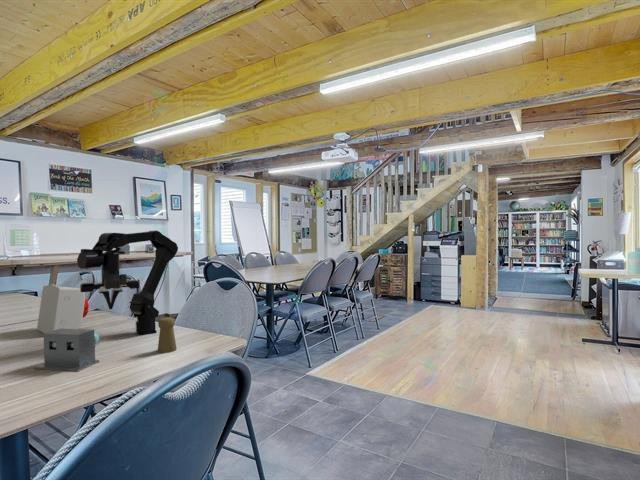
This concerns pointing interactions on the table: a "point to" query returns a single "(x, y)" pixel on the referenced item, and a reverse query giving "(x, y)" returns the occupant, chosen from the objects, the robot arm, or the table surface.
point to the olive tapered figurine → (166, 335)
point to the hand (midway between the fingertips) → (110, 309)
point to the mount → (69, 350)
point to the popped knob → (95, 339)
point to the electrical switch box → (61, 308)
